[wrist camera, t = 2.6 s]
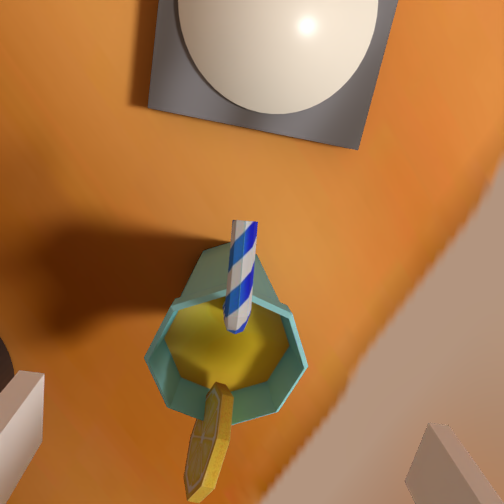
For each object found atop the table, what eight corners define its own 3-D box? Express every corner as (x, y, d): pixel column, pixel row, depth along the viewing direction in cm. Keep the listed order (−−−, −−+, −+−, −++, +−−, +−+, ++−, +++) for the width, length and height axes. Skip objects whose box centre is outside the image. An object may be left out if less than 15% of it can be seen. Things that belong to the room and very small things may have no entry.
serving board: (152, 108, 25) (146, 107, 23) (180, -152, 21) (176, -176, 19) (350, 148, 26) (359, 150, 24) (412, -87, 22) (428, -104, 20)
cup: (177, 161, 26) (115, 215, 12) (295, 171, 26) (371, 235, 12) (171, 347, 30) (120, 551, 16) (271, 352, 31) (308, 552, 17)
